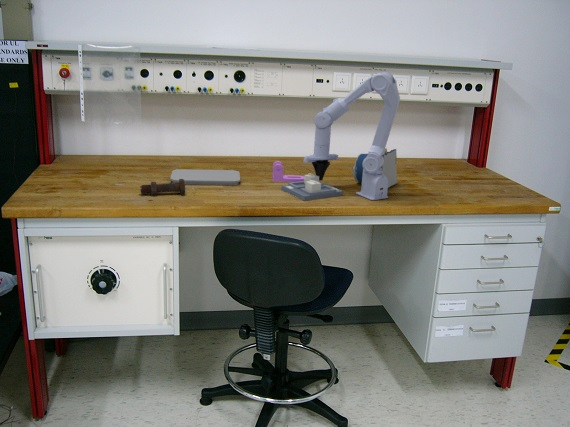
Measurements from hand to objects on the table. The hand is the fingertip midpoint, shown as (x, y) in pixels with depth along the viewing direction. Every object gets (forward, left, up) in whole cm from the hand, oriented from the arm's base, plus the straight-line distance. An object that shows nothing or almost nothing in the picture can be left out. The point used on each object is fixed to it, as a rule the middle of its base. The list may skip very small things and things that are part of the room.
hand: (319, 179), depth 214 cm
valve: (-5, -23, -3) cm, 24 cm away
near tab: (-8, +9, -1) cm, 12 cm away
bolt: (+15, +56, -3) cm, 58 cm away
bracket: (+14, +4, -3) cm, 15 cm away
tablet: (+27, +34, -4) cm, 44 cm away
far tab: (0, +4, -1) cm, 4 cm away
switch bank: (-4, +6, -3) cm, 8 cm away
